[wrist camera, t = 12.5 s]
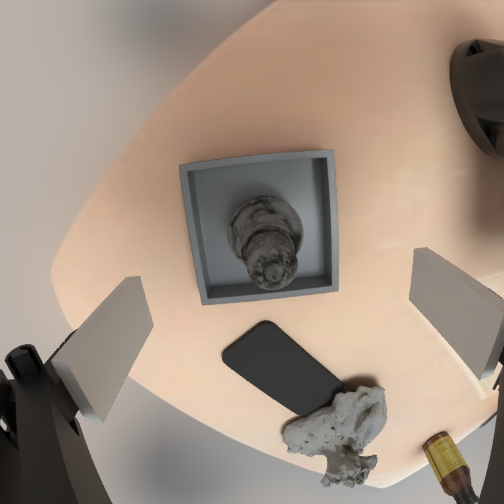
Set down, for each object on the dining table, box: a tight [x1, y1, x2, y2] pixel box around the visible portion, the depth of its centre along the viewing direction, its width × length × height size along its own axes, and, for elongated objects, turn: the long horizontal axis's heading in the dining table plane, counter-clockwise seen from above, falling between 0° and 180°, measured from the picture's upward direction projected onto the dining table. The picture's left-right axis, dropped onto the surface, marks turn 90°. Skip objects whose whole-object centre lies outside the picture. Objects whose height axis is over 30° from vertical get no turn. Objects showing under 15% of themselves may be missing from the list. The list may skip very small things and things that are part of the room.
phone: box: [222, 321, 344, 416], centre depth 31 cm, size 7×1×15 cm
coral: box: [283, 386, 387, 488], centre depth 30 cm, size 17×14×10 cm
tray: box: [179, 150, 339, 305], centre depth 25 cm, size 12×12×3 cm
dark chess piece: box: [228, 195, 304, 290], centre depth 20 cm, size 6×6×12 cm
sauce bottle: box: [424, 432, 479, 504], centre depth 30 cm, size 7×6×20 cm
